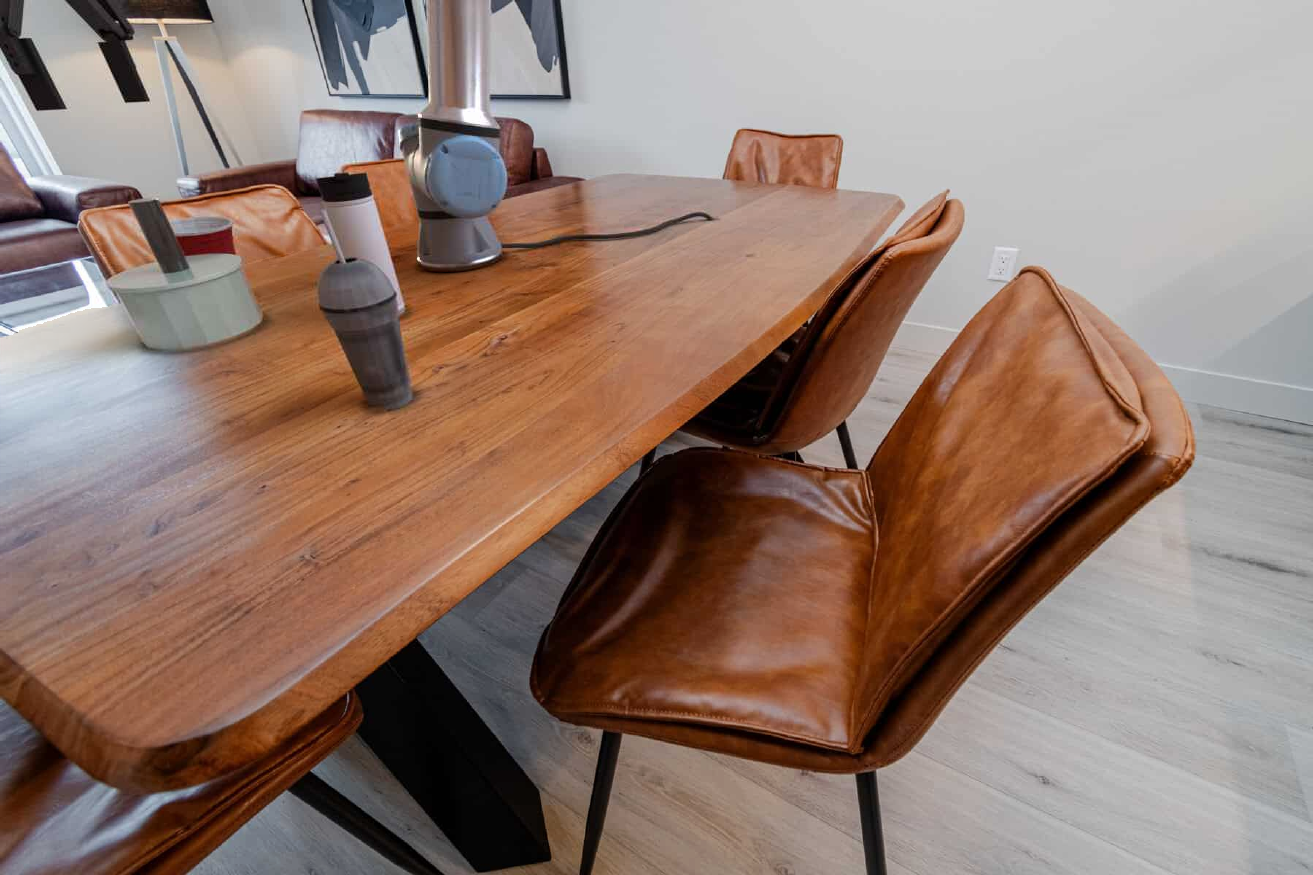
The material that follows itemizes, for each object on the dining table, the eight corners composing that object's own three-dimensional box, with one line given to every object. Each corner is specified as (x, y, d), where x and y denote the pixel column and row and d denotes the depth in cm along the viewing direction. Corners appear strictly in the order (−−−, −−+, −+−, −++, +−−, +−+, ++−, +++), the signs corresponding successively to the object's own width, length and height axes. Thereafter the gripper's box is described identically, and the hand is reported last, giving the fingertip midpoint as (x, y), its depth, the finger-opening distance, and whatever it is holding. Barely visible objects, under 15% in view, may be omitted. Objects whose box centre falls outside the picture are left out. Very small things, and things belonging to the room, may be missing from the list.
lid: (266, 258, 89) (237, 185, 84) (203, 293, 76) (164, 209, 70) (161, 265, 89) (125, 192, 83) (79, 301, 76) (31, 217, 70)
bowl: (282, 310, 93) (260, 255, 88) (229, 349, 81) (200, 288, 76) (187, 316, 93) (160, 261, 88) (120, 356, 80) (85, 294, 76)
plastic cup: (226, 307, 95) (191, 230, 89) (171, 305, 98) (133, 230, 91) (275, 285, 104) (247, 214, 98) (223, 284, 106) (192, 214, 100)
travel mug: (364, 328, 85) (313, 176, 74) (360, 314, 90) (312, 170, 79) (409, 319, 87) (367, 170, 76) (403, 305, 92) (363, 165, 81)
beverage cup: (384, 423, 62) (315, 223, 51) (341, 407, 65) (269, 216, 54) (439, 393, 67) (388, 205, 56) (397, 380, 70) (341, 200, 59)
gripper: (46, -106, 70) (138, 101, 82) (-202, -175, 49) (-31, 116, 61) (110, -109, 70) (194, 98, 82) (-110, -180, 49) (43, 112, 61)
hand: (98, 106), depth 71 cm, fingers open, 13 cm apart
